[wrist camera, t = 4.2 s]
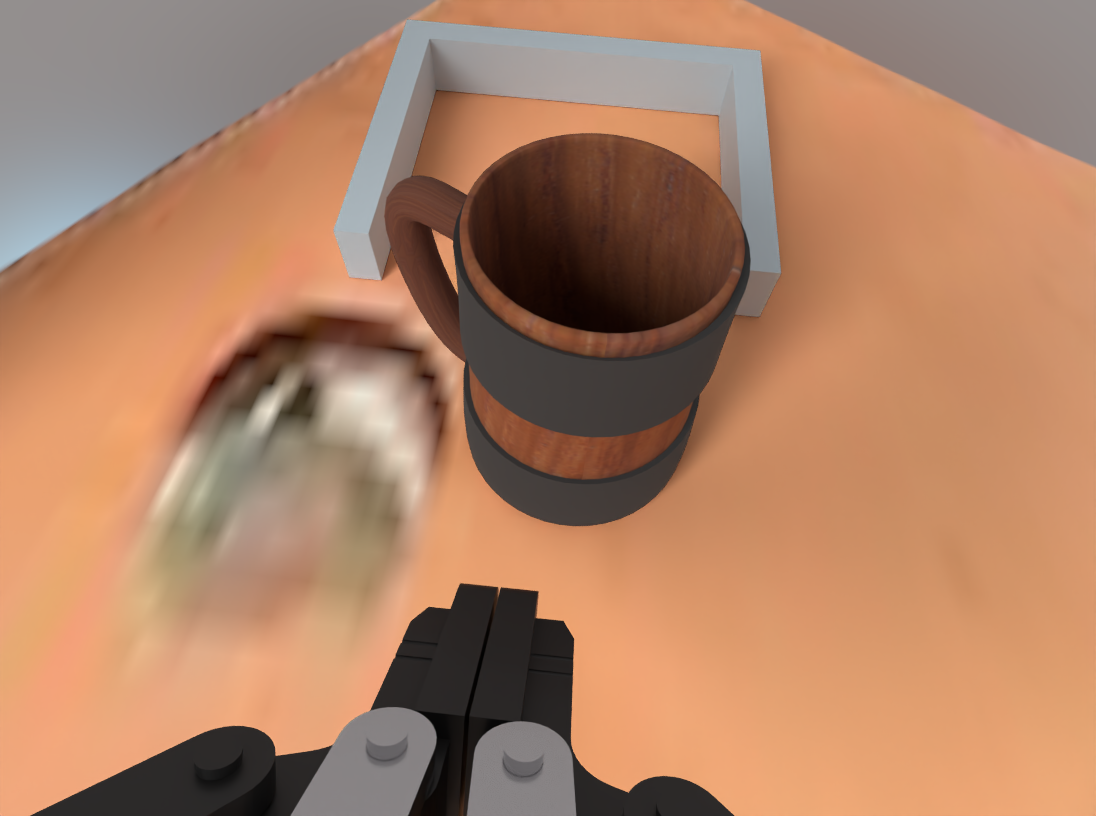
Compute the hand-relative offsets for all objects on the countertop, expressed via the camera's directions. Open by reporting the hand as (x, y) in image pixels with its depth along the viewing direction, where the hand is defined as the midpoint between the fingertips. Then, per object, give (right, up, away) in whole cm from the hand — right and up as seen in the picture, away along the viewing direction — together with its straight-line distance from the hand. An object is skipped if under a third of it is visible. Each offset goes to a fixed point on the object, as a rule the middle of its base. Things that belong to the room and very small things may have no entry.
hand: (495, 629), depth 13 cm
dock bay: (+2, +15, +22) cm, 27 cm away
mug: (+1, +4, +15) cm, 16 cm away
